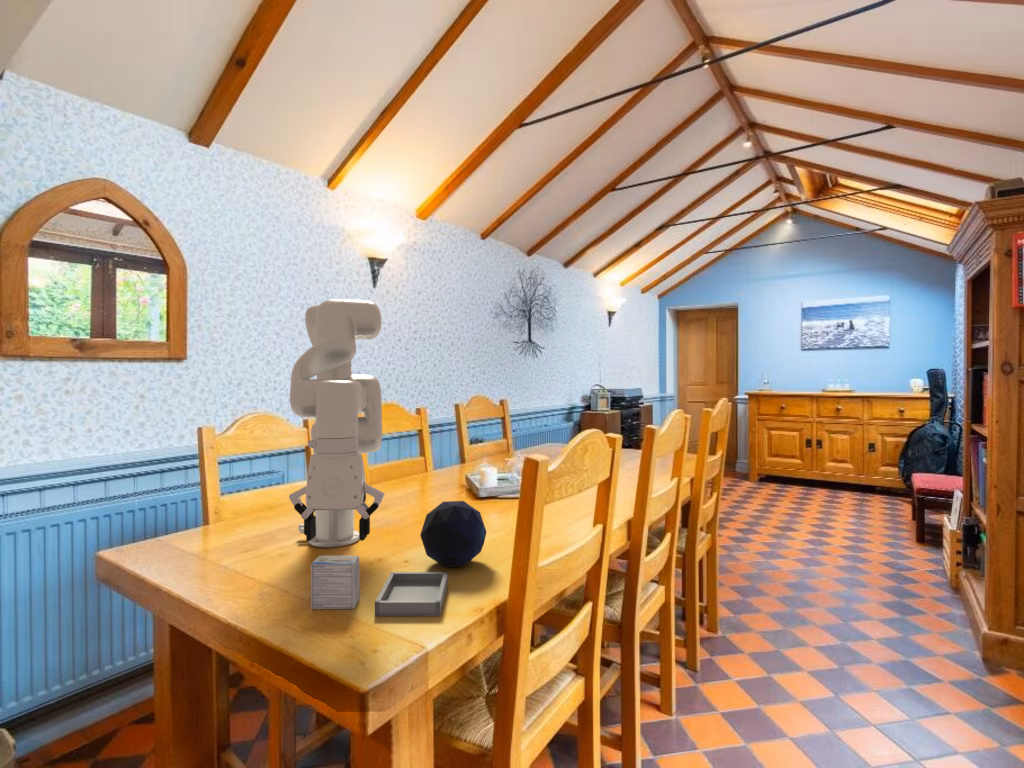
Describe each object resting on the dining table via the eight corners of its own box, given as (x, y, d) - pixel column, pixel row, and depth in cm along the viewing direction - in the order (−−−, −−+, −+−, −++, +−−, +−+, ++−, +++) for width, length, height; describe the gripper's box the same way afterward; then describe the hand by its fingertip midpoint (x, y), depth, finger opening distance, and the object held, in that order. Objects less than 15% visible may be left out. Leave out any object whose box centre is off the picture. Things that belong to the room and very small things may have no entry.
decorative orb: (469, 525, 136) (439, 482, 130) (509, 539, 125) (478, 493, 118) (431, 570, 129) (396, 527, 122) (469, 589, 118) (434, 543, 111)
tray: (374, 616, 97) (374, 602, 97) (391, 584, 112) (391, 572, 112) (439, 616, 98) (439, 602, 97) (447, 584, 112) (447, 572, 112)
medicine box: (360, 599, 104) (360, 554, 104) (354, 610, 100) (354, 563, 100) (318, 600, 104) (318, 554, 104) (310, 610, 100) (310, 563, 99)
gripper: (282, 449, 98) (282, 545, 98) (379, 449, 98) (379, 544, 98) (297, 444, 105) (297, 533, 105) (388, 444, 105) (388, 533, 105)
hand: (337, 538), depth 101 cm, fingers open, 9 cm apart
